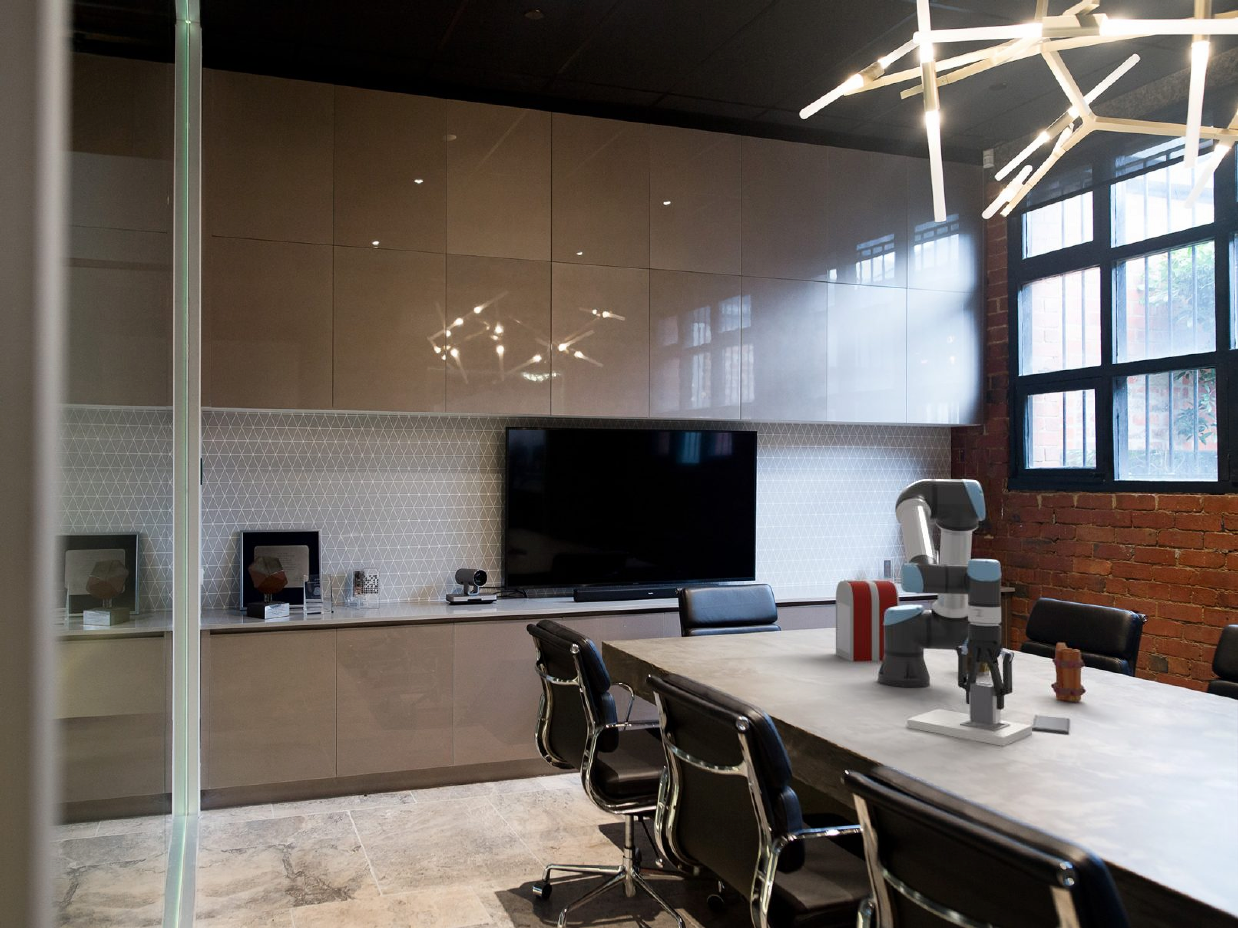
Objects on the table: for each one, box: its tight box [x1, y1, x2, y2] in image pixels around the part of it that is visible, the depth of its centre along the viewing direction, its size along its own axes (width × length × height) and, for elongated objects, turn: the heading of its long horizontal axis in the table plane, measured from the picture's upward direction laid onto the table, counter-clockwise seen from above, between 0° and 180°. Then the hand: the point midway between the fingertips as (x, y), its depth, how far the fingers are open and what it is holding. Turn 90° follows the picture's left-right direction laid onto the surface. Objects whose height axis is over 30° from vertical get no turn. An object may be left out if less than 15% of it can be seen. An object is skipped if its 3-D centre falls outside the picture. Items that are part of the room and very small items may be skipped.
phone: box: [1032, 714, 1070, 735], centre depth 237 cm, size 8×15×1 cm, turn 154°
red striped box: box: [835, 579, 900, 663], centre depth 334 cm, size 16×18×27 cm
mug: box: [1050, 642, 1087, 703], centre depth 269 cm, size 15×8×15 cm, turn 168°
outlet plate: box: [906, 708, 1033, 747], centre depth 231 cm, size 24×16×2 cm, turn 45°
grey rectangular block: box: [970, 680, 996, 725], centre depth 229 cm, size 5×5×9 cm
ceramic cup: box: [967, 651, 990, 676], centre depth 306 cm, size 13×10×10 cm
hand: (984, 720), depth 229 cm, fingers closed on grey rectangular block, 5 cm apart
